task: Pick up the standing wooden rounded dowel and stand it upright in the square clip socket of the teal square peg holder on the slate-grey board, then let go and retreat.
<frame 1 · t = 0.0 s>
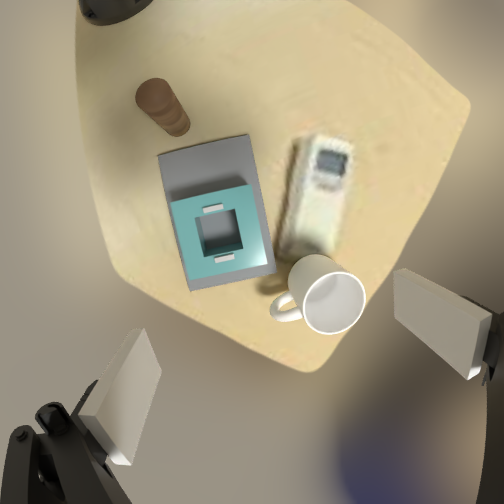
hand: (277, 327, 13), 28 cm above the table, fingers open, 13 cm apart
board: (217, 213, 40), on the table
teal square peg holder: (220, 228, 39), resting on board
mug: (301, 283, 43), on the table
wooden rounded dowel: (177, 124, 37), on the table
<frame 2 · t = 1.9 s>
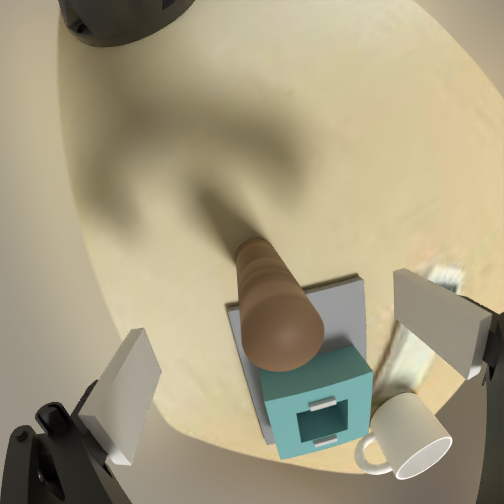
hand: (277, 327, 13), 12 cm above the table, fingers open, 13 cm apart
board: (308, 373, 29), on the table
teal square peg holder: (312, 392, 28), resting on board
mug: (382, 417, 32), on the table
wooden rounded dowel: (256, 258, 25), on the table
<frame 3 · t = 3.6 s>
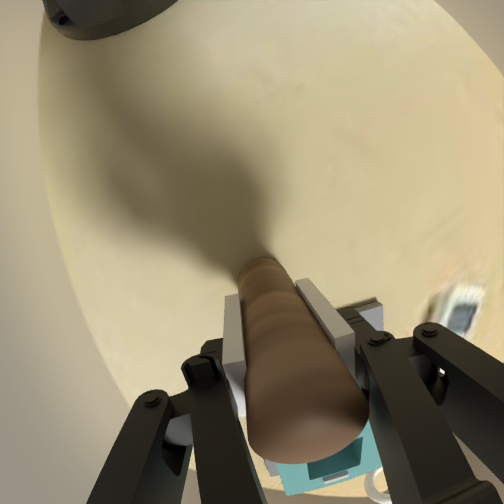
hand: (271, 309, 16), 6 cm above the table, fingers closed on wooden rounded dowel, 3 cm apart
board: (317, 406, 24), on the table
teal square peg holder: (321, 425, 24), resting on board
mug: (393, 443, 28), on the table
wooden rounded dowel: (263, 282, 20), point 1 cm above the table, touching gripper
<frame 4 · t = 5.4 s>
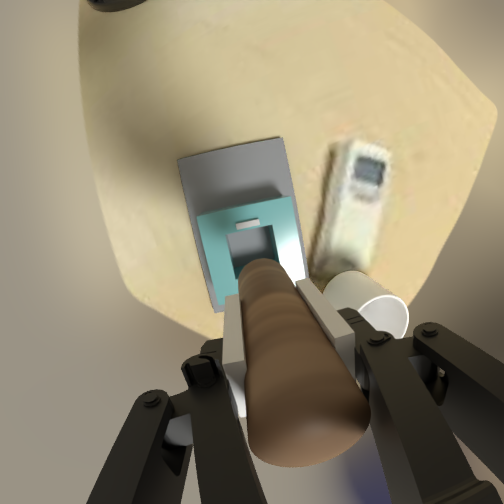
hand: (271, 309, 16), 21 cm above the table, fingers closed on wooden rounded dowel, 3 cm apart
board: (246, 226, 35), on the table
teal square peg holder: (250, 243, 35), resting on board
mug: (334, 301, 39), on the table
wooden rounded dowel: (263, 282, 20), point 16 cm above the table, touching gripper
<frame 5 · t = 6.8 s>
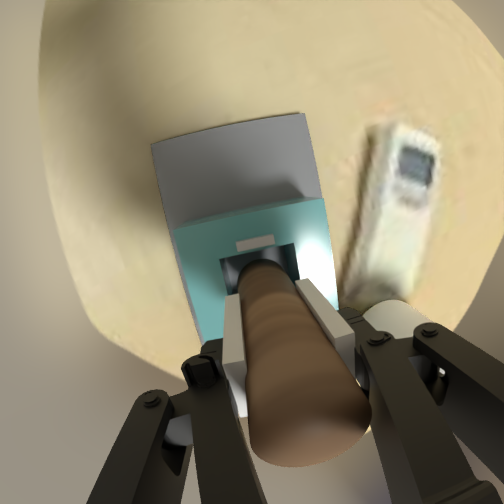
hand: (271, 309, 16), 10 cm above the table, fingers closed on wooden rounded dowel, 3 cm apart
board: (251, 241, 24), on the table
teal square peg holder: (257, 266, 24), resting on board
mug: (366, 339, 28), on the table
wooden rounded dowel: (262, 283, 20), point 5 cm above the table, touching gripper
when the fingers open (8 cm above the table, at t = 7.4 s): wooden rounded dowel drops 2 cm, resting on board.
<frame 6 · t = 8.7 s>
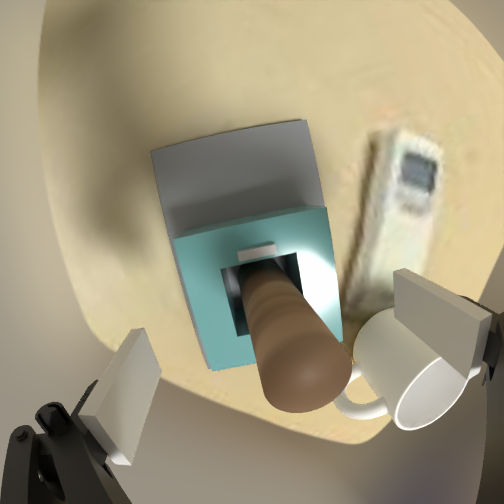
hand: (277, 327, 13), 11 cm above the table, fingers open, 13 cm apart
board: (253, 250, 24), on the table
teal square peg holder: (259, 275, 24), resting on board
mug: (369, 347, 27), on the table
wooden rounded dowel: (259, 276, 24), point 1 cm above the table, touching board
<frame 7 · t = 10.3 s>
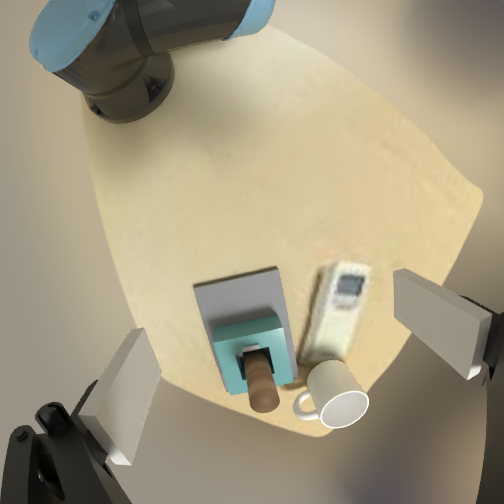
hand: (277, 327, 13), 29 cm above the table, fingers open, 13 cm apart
board: (250, 334, 45), on the table
teal square peg holder: (253, 348, 44), resting on board
mug: (317, 380, 48), on the table
wooden rounded dowel: (253, 348, 44), point 1 cm above the table, touching board
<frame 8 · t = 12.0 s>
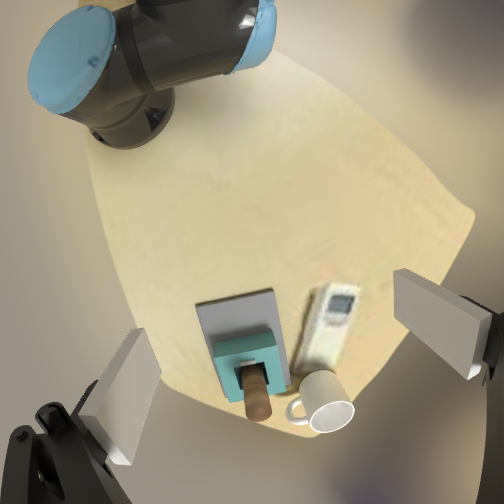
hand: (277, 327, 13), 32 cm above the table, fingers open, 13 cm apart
board: (247, 348, 49), on the table
teal square peg holder: (249, 360, 48), resting on board
mug: (309, 387, 52), on the table
wooden rounded dowel: (250, 360, 48), point 1 cm above the table, touching board
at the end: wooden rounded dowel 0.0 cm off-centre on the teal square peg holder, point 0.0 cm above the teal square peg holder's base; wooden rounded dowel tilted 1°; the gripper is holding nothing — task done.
